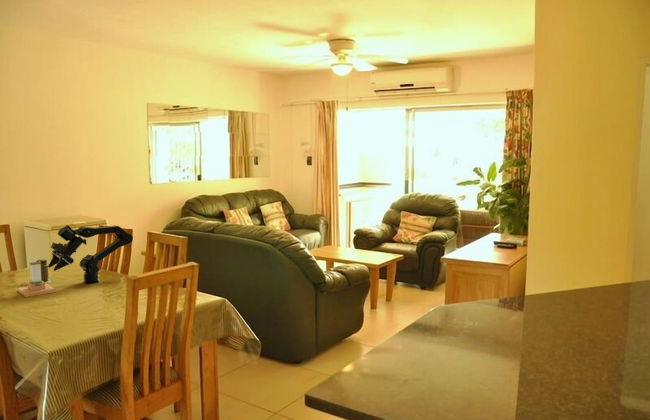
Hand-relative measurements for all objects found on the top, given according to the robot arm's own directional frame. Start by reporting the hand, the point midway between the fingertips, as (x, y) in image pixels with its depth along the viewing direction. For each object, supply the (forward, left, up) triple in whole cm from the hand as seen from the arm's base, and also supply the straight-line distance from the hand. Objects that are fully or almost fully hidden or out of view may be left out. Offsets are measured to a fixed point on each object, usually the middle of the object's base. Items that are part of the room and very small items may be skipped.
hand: (51, 268), depth 267 cm
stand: (+7, 0, -11) cm, 13 cm away
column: (+7, 0, -6) cm, 9 cm away
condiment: (-1, -20, -11) cm, 23 cm away
